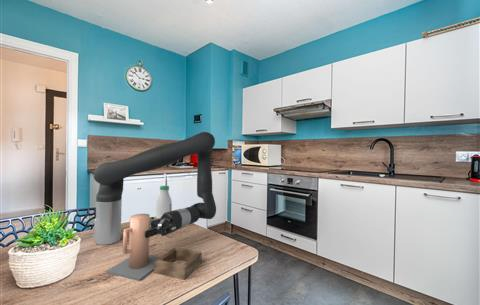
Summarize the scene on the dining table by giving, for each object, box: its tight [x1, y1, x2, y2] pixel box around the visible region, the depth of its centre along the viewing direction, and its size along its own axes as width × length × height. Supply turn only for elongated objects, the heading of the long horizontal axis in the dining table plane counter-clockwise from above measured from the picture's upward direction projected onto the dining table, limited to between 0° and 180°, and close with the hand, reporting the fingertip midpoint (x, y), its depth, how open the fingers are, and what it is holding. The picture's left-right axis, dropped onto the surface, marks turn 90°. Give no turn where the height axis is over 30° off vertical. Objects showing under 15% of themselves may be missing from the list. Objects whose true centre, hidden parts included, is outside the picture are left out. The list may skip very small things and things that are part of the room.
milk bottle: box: [155, 185, 173, 219], centre depth 114 cm, size 8×8×20 cm
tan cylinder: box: [122, 213, 151, 269], centre depth 71 cm, size 8×6×16 cm
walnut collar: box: [153, 247, 203, 280], centre depth 71 cm, size 11×11×4 cm
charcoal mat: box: [105, 254, 160, 282], centre depth 72 cm, size 13×13×1 cm
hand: (137, 231), depth 71 cm, fingers open, 8 cm apart
